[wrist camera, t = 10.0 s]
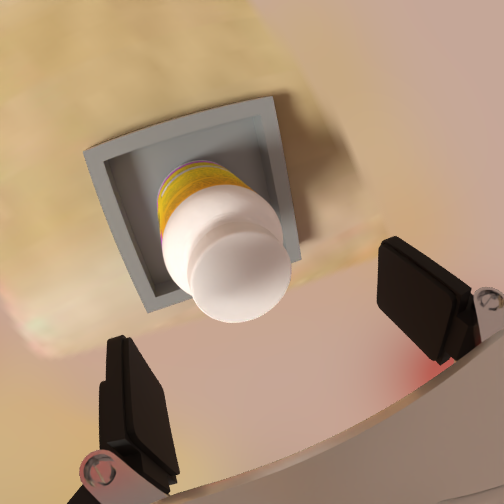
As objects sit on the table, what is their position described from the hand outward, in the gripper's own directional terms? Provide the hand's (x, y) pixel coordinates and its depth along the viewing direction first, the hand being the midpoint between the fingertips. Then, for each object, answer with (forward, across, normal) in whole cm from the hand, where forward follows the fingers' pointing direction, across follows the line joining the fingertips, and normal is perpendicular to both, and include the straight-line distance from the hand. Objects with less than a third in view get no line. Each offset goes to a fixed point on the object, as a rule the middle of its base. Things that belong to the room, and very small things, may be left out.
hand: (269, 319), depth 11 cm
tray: (+17, 0, +1) cm, 17 cm away
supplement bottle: (+16, 0, +1) cm, 17 cm away
